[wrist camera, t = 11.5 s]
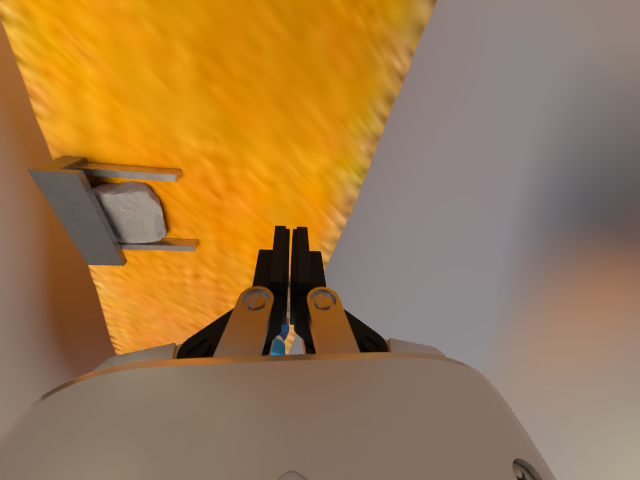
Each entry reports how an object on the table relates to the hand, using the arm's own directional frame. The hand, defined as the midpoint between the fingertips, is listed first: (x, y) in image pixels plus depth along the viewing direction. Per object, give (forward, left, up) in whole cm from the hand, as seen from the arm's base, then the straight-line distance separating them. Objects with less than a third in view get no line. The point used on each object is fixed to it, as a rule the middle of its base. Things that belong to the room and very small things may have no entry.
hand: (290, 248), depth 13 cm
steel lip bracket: (+17, -28, -32) cm, 46 cm away
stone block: (+18, -28, -33) cm, 47 cm away
